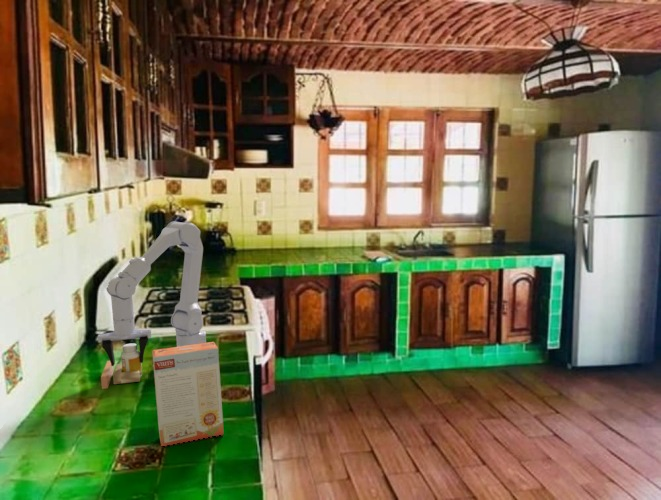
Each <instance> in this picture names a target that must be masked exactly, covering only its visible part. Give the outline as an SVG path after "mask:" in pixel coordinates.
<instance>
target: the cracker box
mask: <svg viewBox="0 0 661 500" xmlns="http://www.w3.org/2000/svg"><path fill="white" fill-rule="evenodd" d="M151 353H152V364H153V377H154V385H155V386H154V389H155V390H154V391H155V400H156V401H155V402H156V411H157V414H156V415H157V424H158V433H159V441H160V446H165V447H168V446H167V445H170V446H173V444H175V445H178V444H177V443H180V444H184V443H183V442H185V443H189V442H188V441H190V442H194V441H193V440H195V441H199V440H198V439H200V440H204V439H203V438H205V439H209V438H208V437H210V438H213V437H212V436H216V437H220V436H219V435H221V436H224V435H223V434H224V433H225V432H224V420H223V419H224V415H223V404H222V403H223V402H222V401H223V400H222V389H221V373H220V360H219V359H220V358H219V348H218V345H217V344H216V343H215V341H210V342H206V343H201V344H194V345H187V346H179V347H177V346H175V347H167V348H158V349H152V351H151Z"/></svg>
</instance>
